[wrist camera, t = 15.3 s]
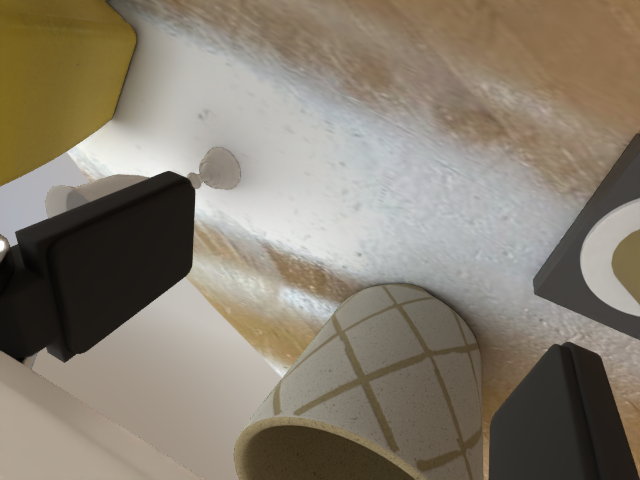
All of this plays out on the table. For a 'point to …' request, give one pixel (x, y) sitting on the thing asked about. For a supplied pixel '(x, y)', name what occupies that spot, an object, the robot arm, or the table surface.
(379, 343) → the planter
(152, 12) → the table surface
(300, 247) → the table surface
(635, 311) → the scale
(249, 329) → the table surface
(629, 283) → the pepper shaker
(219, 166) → the chalice
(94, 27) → the flower pot
